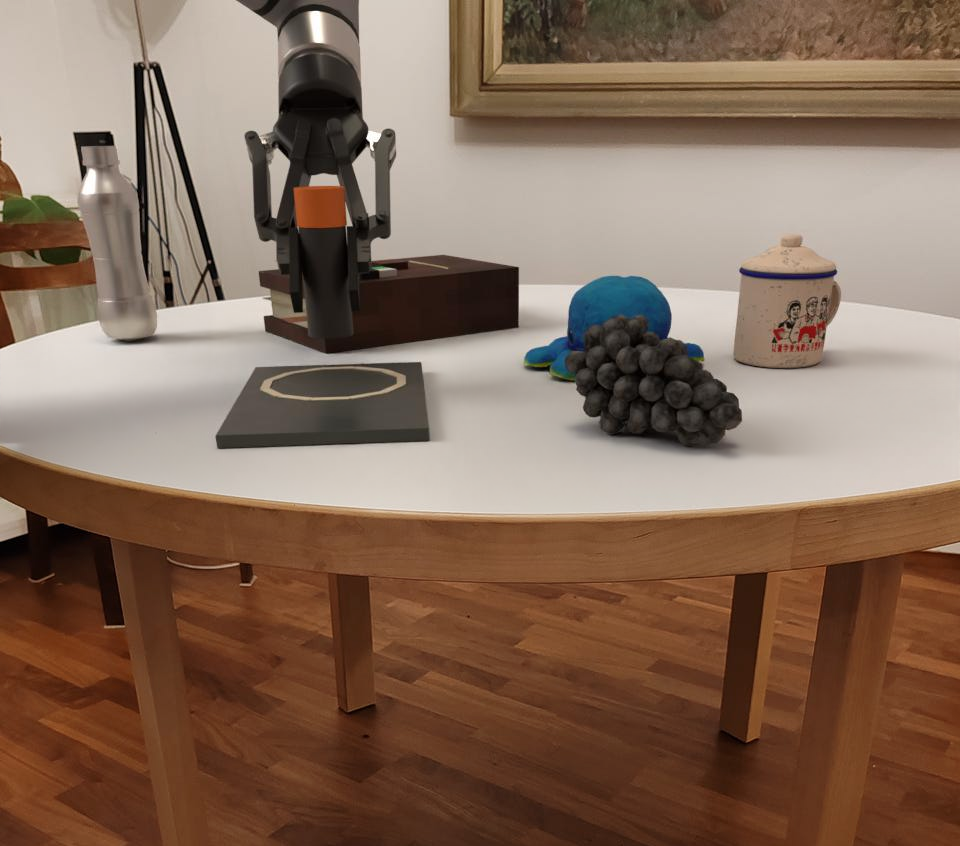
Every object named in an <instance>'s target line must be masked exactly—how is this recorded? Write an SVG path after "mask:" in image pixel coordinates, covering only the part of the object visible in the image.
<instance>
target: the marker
mask: <svg viewBox="0 0 960 846" xmlns="http://www.w3.org/2000/svg"><path fill="white" fill-rule="evenodd" d="M294 198H295V208H296V219H297V228H298V231H299V238H300V249H301V260H302V271H303V282H304V292H305V303H306V314H307V325H308V335H309V337H312V338H317V339H338V338H345V337H349V336H352V335H353V319H352V311H351V304H350V296H349V282H348V252H347V226H348V221H347V206H346V202H345V191H344V187H343V186H340V185H309V186H305V187H295V188H294Z"/></svg>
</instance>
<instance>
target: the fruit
mask: <svg viewBox="0 0 960 846" xmlns="http://www.w3.org/2000/svg"><path fill="white" fill-rule="evenodd" d="M648 328H649V323H648V318H647V317H645V316H644V315H634V317H633V318H632V319H629V318H627V317H626V316H624V315H622V314H620V315H617V316H614V317H612V318H611V319H608V320H607V321H605V322H604V323H603V326H602V327H601V326H600V325H591V326H590V327H589V328H587V330H586V331H585V333H584V336H583V339H584V351H585V352H583V351H571V352H570V353H569V354H568V355H567V356H566V357H565V366H566V369H567V370H568V372H569V373H570V374H577V375H576V377H575V379H574V380H573V381H574V384H575V386H576V387H575V391H576V392H577V393H578V394H579V395H580V396H582V397H583V398H585V399H584V402H583V406H582V409H583V412H584V413H585V415H586V416H587V417H589V418H599V421H598V423H599V427H600V429H601V431H602V432H604V433H605V434H608V435H615V434H619V433H620V432H621V431H622V430H623V429H624V423H625V422H627V423H626V427H627V430H628V431H629V432H631V433H632V434H636V435H637V434H638V435H639V434H642V433H643V432H645V430H647V428H650V429H654V430H655V431H656V432H659V433H669V432H676V435H677V438H678V441H679V442H680V443H681V444H682V445H683V446H685V447H693V446H695V445H697V444H698V442H699V441H700V439H701V440H702V442H703V443H705V444H707V445H712V444H713V445H714V444H718V443H719V442H720V441H722V440H723V439H724V437H725V435H726V431H731V430H734V429H736V428H737V427H738V426H739V425H741V423H742V422H743V411H742V409H741V408H740V400H739V398H738V396H737V395H736V394H735V393H734V392H729V391H728V387H727V384H725V383H724V382H723V381H721V380H719V379H718V378H714V376H713V374H712V372H711V371H709V370H707V369H703V365H702V364H701V361H696V360H694V359H692V358H689V357H688V356H687V347H686V345H685V344H684V343H685V342H684V341H683V340H681V339H675V338H673V337H671V336H668V337H667V338H666V339H662V340H661V341H660V340H659V337H658V335H657V334H656V333H654V332H646V331H647V329H648ZM645 332H646V333H645Z"/></svg>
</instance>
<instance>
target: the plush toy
mask: <svg viewBox="0 0 960 846" xmlns="http://www.w3.org/2000/svg"><path fill="white" fill-rule="evenodd" d="M620 314H622V315H624V316H626V317H627V318H629V319H632V318H633V317H634V315H644V316H645V317H647V318H648V323H649V328H648V329H647V331H646V332H654V333H656V334H657V335H658V337H659V340H660V341H661V340H662V339H666V338H669V335H670V331H671V329H672V328H671V327H672V318H673V317H672V310H671V306H670V303H669V301H668V299H667V298H666V296H665V295H664V294H663V292H662V291H661V290H660V289H659V288H658V286H657V285H656V284H654V283H653V282H652V281H650V280H649V279H647V278H645V277H642V276H637V275H628V276H621V275H606V276H601V277H598V278H596V279H593V280H592V281H590V282H588V283H586V284H585V285H583V286H582V287H581V288H579V289H578V290H576V292H574V294H573V296H572V297H571V300H570V303H569V306H568V314H567V315H568V317H567V318H568V320H567V327H566V328H567V329H566V336H561V337H558V338H555V339H553V341H551V342H550V343H549V344H548V345H542V346H538V347H533V348H531V349H529V350H528V351H527V352H526V353H525V355H524V358H523V364H524V365H526V366H527V367H534V368H547V367H549V373H550V375H551V376H553V377H558V378H559V379H564V380H567V381H574V379H575V377H576V375H577V374H570V373H569V372H568V370H567V369H566V366H565V357H566V356H567V355H568V354H569V353H570V352H571V351H583V352H585V351H584V339H583V336H584V333H585V331H586V330H587V328H589V327H590V326H591V325H600V326H601V327H602V326H603V323H604V322H605V321H607V320H608V319H611V318H612V317H614V316H617V315H620ZM646 332H645V333H646ZM683 343H684V344H685V345H686V347H687V356H688V357H689V358H692V359H694V360H696V361H699V362H700V363H701V362H702V363H703V362H705V356H704V351H703V349H702V348H701V346H700V345H699V344H696V343H691V342H687V343H686V342H683Z"/></svg>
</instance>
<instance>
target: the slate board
mask: <svg viewBox="0 0 960 846" xmlns="http://www.w3.org/2000/svg"><path fill="white" fill-rule="evenodd" d="M422 365H423V364H422V361H405V362H403V361H402V362H374V363H344V364H342V363H341V364H309V365H281V366H279V365H278V366H277V365H276V366H255V367H254V370H253V371H252V372H251V374H250V376H249V378H248V380H247V381H246V383H245V384H244V386H243V388H242V389H241V392H240V393H239V395H238V397H237V398H236V399H235V402H234V403H233V405H232V407H231V409H230V410H229V412H228V413H227V415H226V417H225V419H224V420H223V422H222V423H221V425H220V428H219V429H218V431H217V432H216V434H215V443H216V449H230V448H231V449H233V448H234V449H235V448H259V447H261V448H263V447H287V446H288V447H290V446H292V447H293V446H315V445H319V446H321V445H343V444H344V445H345V444H370V443H372V444H373V443H374V444H375V443H398V442H399V443H400V442H425V441H427V442H428V441H430V427H429V426H430V425H429V417H428V408H427V399H426V391H425V383H424V374H423V373H424V372H423V366H422Z"/></svg>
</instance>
